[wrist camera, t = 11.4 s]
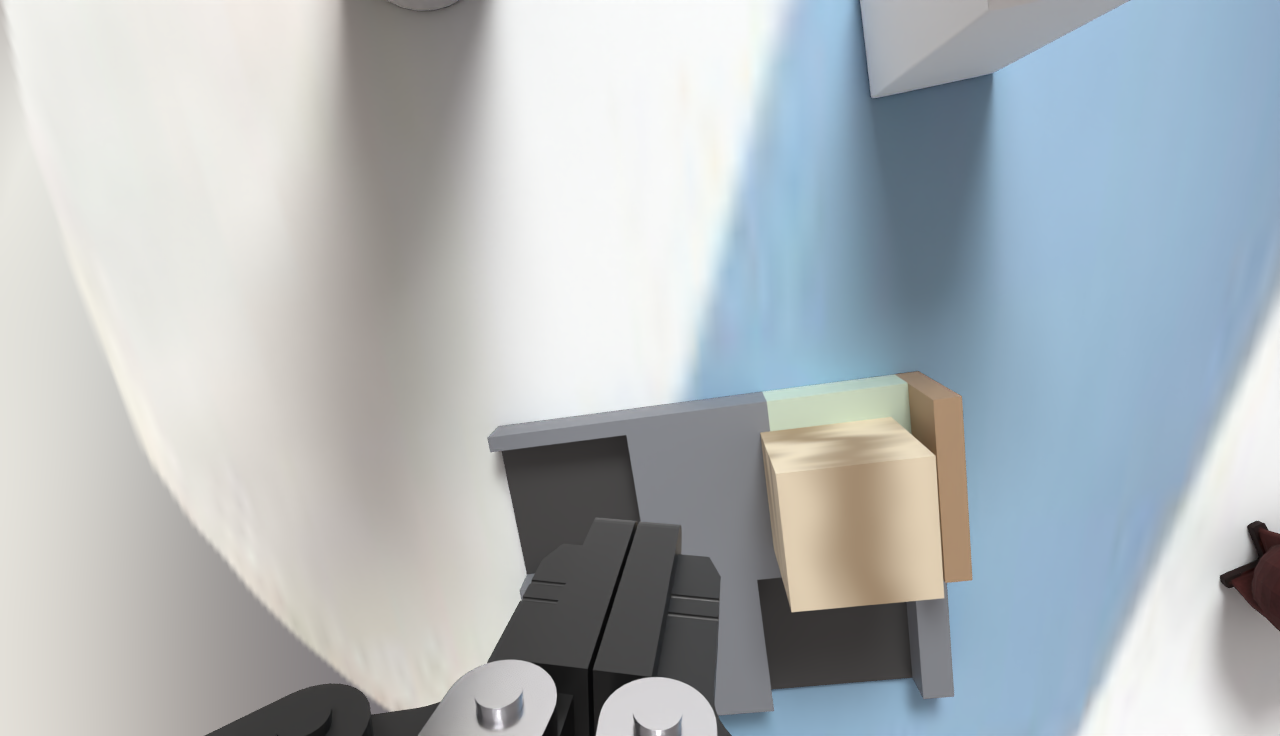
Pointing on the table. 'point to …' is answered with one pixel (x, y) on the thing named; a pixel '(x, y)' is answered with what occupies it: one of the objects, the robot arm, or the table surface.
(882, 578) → the beech block
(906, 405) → the trap deck
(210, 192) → the table surface
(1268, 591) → the mate gourd
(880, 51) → the milk carton
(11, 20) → the table surface
